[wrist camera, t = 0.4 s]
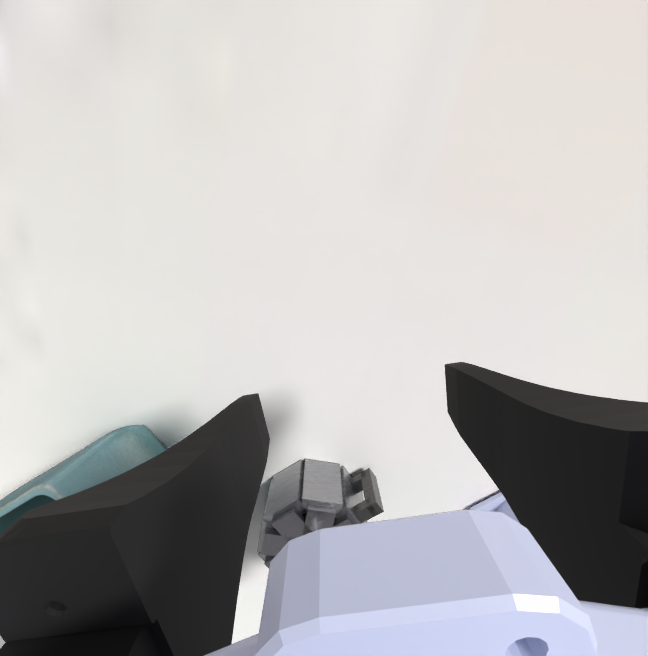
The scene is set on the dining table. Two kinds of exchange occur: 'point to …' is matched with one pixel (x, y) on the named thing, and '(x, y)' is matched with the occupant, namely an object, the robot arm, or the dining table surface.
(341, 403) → the dining table surface
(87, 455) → the flower pot
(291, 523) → the press pot
